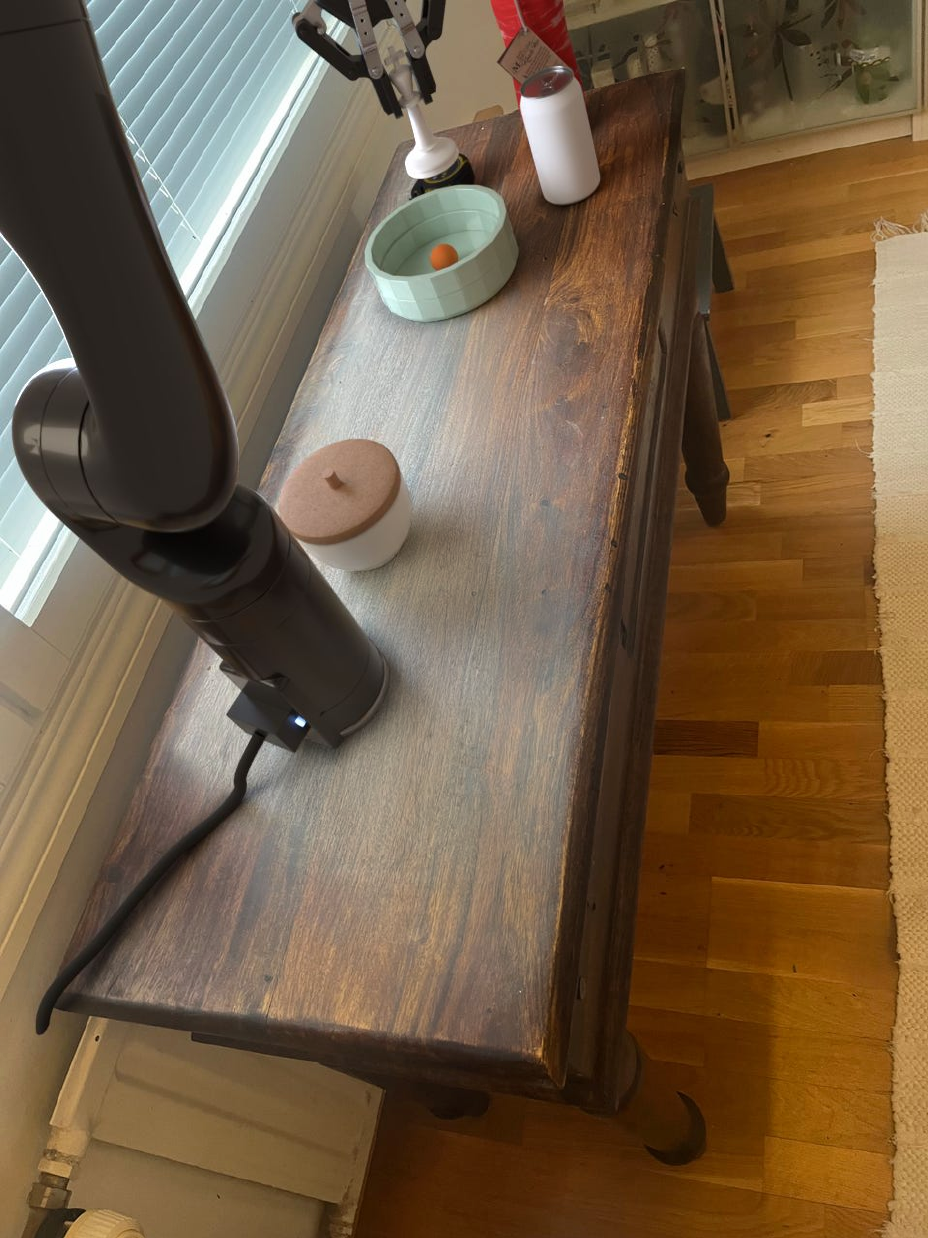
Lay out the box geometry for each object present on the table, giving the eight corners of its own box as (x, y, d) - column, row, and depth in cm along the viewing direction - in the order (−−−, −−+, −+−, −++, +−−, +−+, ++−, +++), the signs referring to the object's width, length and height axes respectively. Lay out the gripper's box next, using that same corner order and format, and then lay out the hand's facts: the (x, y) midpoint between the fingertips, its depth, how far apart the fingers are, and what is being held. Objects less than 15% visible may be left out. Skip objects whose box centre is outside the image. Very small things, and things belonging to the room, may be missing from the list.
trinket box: (295, 559, 84) (244, 492, 77) (376, 480, 87) (335, 407, 79) (367, 612, 78) (319, 545, 71) (453, 525, 81) (415, 451, 73)
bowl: (479, 329, 94) (462, 285, 90) (359, 318, 102) (338, 276, 98) (543, 230, 100) (530, 184, 96) (425, 226, 108) (409, 183, 104)
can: (601, 165, 104) (578, 55, 94) (600, 199, 100) (576, 89, 91) (545, 178, 106) (517, 73, 96) (542, 212, 102) (513, 106, 93)
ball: (454, 280, 99) (444, 256, 97) (431, 278, 101) (421, 255, 99) (466, 261, 101) (458, 237, 98) (443, 260, 102) (434, 237, 100)
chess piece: (399, 164, 84) (354, 53, 76) (446, 137, 84) (406, 22, 76) (418, 186, 81) (374, 72, 73) (467, 157, 81) (428, 40, 73)
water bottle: (582, 165, 105) (526, -87, 85) (515, 176, 108) (446, -64, 88) (599, 105, 111) (550, -143, 91) (535, 117, 114) (474, -121, 94)
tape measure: (436, 181, 113) (425, 152, 110) (486, 176, 110) (477, 146, 107) (415, 216, 110) (404, 188, 107) (466, 213, 107) (456, 183, 104)
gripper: (242, -70, 63) (347, 163, 77) (426, -167, 62) (500, 87, 76) (230, -100, 68) (331, 124, 82) (401, -192, 67) (475, 52, 80)
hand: (412, 105), depth 79 cm, fingers closed on chess piece
